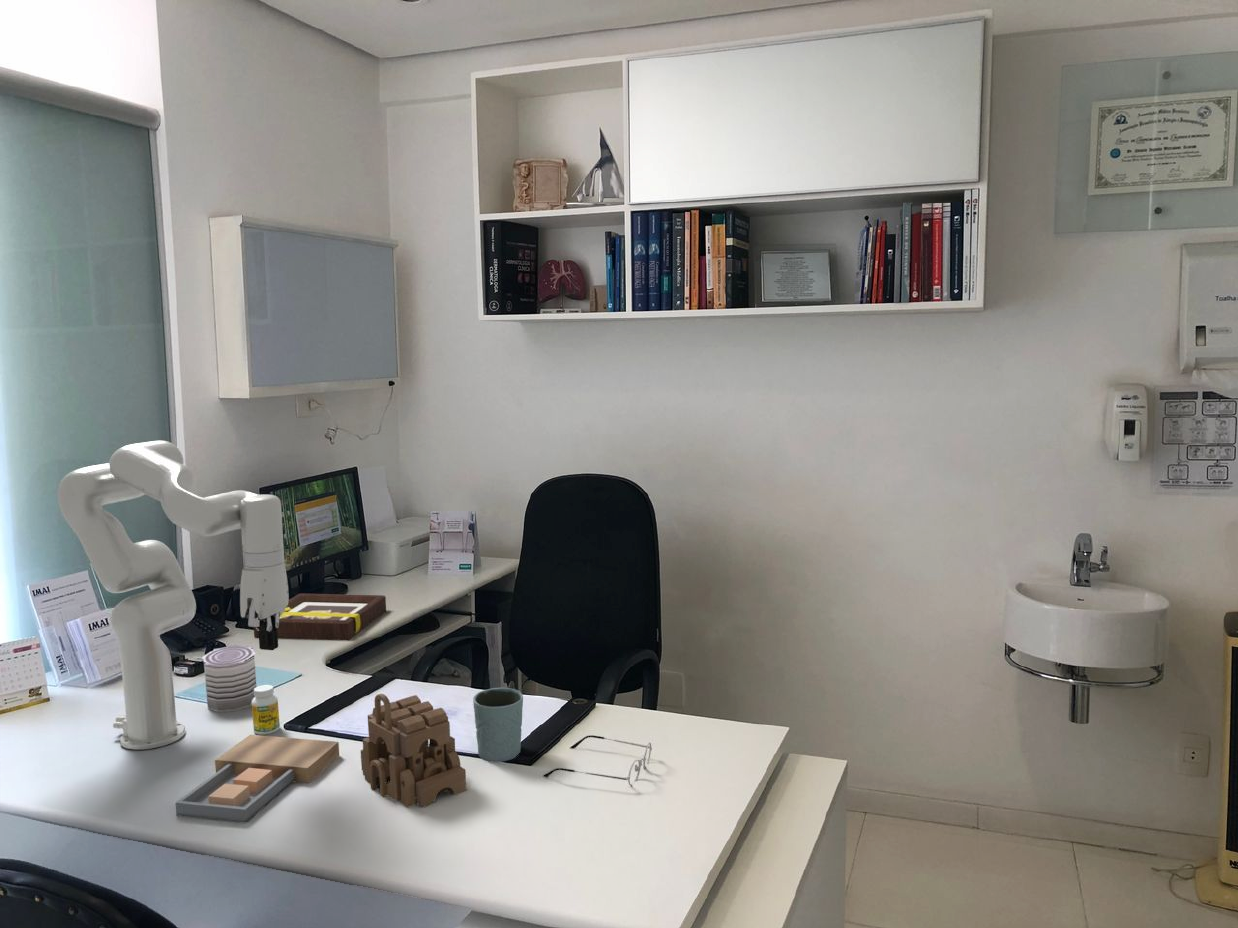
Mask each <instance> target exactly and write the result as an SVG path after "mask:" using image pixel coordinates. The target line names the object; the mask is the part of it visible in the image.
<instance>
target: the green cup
mask: <svg viewBox="0 0 1238 928" xmlns="http://www.w3.org/2000/svg"><path fill="white" fill-rule="evenodd" d="M472 699H473V709H474V710H473V712H474V724H475V729H476V731H475V733H476V741H477V753H478V756H479V758H480V759H481V760H484V761H487V762H491V763H492V762H493V763H496V762H498V763H499V762H507V761H510V760H513V759H515V758H517V757H518V756H519V755H520V754H519V753H521V745H522V743H521V742H522V725H523V706H524V704H523V703H524V696H523V693H522V692H521V691H520V690H518V689H515V688H509V687H493V688H489V689H484V690H482V691H479V692H477V693H476V694H474V696H473V698H472ZM518 754H519V755H518ZM517 755H518V756H517ZM516 756H517V757H516Z"/></svg>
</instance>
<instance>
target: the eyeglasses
mask: <svg viewBox="0 0 1238 928" xmlns="http://www.w3.org/2000/svg"><path fill="white" fill-rule="evenodd" d="M589 738H593V739H601V740H609V741H613V742H617V743H621V744H627V745H632V746H636V747H641V748H645V752H644V755H643V756H642V757H643V758H641V759H635V760H634V761H633V762H632V764H631V766H630V768H629V773H628V776H626V777H622V776H616V775H609V774H600V773H593V772H586V771H585V772H583V771H579V770H578V771H577V770H575V769H570V768H561V767H558V768H554V769H552V770H550V771H548V772H547V773H545V774H543V777H546V778H548V777H550V776H551V775H552V774H554V772H556V771H565V772H571V773H580V774H585V775H591V776H597V777H602V778H611V779H616V780H621V781H628V785H629V786H633V784H632V783H631V780H630V779H631V772H632V769H633V767H634V771H635V773H636V772H637V774H636V776H635V779H634V781H633V783H634V782H637V781H638V778H639V776H640V773H641V767H643V769H644V770H646V768H647V767H646V765H649V762H650V759H651V754H652V753H651V752H652V750H653V747H652V743H651V742H648V743H647V745H645V744H639V743H634V742H629V741H624V740H617V739H611V738H607V737H605V736H599V735H585V736H584V737H583V738H581V739H580V740H578V741H577V742H576V743H574V744H573V745H571V746H570V747H569V749H571V750H572V749H574V750H575V749H576V748H577V747H578V746H579V745H580V744H581V743H582V742H583V741H585V739H589ZM648 749H649V751H648ZM647 752H648V758H647V757H646V756H647ZM646 758H647V759H646ZM646 760H647V761H646ZM636 762H638V764H635V763H636Z"/></svg>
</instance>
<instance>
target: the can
mask: <svg viewBox="0 0 1238 928" xmlns="http://www.w3.org/2000/svg"><path fill="white" fill-rule="evenodd" d="M255 655H256V652H255V650H254V648H253V647H252V646H247V645H239V644H238V645H236V644H234V645H233V644H232V645H228V646H224V647H219V648H214V649H213V650H211V651H209V652H207V653H206V654H204V655H202V657H201V659H202V661H203V667H204V669H203V670H204V677H205V678H204V679H205V689H206V690H205V692H206V693H205V694H206V703H207V709H208V711H209V710H210V711H213V712H218V713H223V712H236V711H239V710H244V709H245V708H250V707H252V700H253V698H254V697H255V696H254V688H256V687H257V676H256V675H257V674H256V662H255Z"/></svg>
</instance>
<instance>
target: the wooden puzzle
mask: <svg viewBox="0 0 1238 928" xmlns="http://www.w3.org/2000/svg"><path fill="white" fill-rule="evenodd" d="M381 701H382V702H381ZM382 703H383V704H382ZM450 723H451V722H450V721H449V716H448V715H447V713H446V711H445V710H444V708H443V707H437V708H435V709H434V706H433V705H432V703H431V702H430V701H423V702H422V700H421V699H420V698H419V696H417V695H415V694H414V695H411V696H407V697H404V698H401V699H398V700H396V701H392V702H391V701H390V699H389V698H388V696H387V695H386V694H384V693H379V694H376V695H375V697H374V707H373V708H372V713H369V714H368V715H367V726H368V727H367V730H368V737H363V738H362V749H360V762H361V771H362V775H363V776H364V780H365V781H366V782H367V783H368V784H369V785H370V789H371V790H372V791H374V790H376V789H377V788H378V787H380V788H379V789H380V796H381V797H386V796H387V797H389V798H391V799H392V800H393V801H395V802H400V801H401V805H403V806H404V807H406V808H409V807H411V806H415V805H418V806H419V807H421V808H425V807H427V806H430V805H432V804H435V802H436V798H437V796H438V794H439V793H440V791H442V793H445V792H447V791H448V792H450V793H451V794H453V795H457V794H460V793H463V792H465V791H467V777H466V776H467V775H466V769H465V768H463V767H462V765H461V760H460V756H459V754H458V752H457V751H456V738H454V737H453V736H452V735H451V729H450V728H451V727H450V726H451V724H450Z"/></svg>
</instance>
